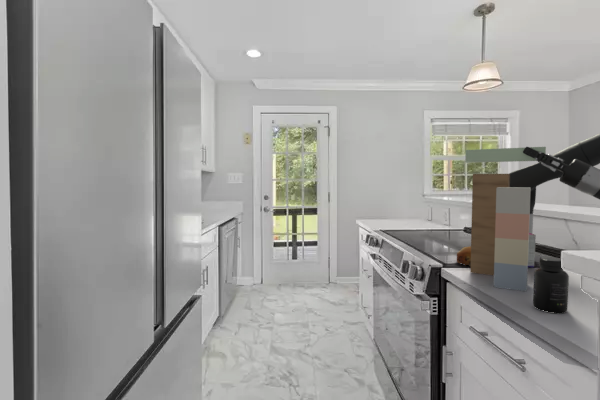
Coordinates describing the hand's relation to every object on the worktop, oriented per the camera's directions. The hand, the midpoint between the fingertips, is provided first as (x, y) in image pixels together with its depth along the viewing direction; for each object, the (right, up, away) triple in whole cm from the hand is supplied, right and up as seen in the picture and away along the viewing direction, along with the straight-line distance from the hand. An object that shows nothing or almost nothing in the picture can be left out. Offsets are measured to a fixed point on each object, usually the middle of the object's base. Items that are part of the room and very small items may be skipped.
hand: (524, 149), depth 117 cm
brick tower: (-9, -40, -8) cm, 42 cm away
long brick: (-5, -3, +3) cm, 7 cm away
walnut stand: (-8, -39, +7) cm, 40 cm away
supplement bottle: (-10, -41, -27) cm, 51 cm away
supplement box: (+9, -39, +16) cm, 43 cm away
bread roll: (-8, -39, +20) cm, 44 cm away
